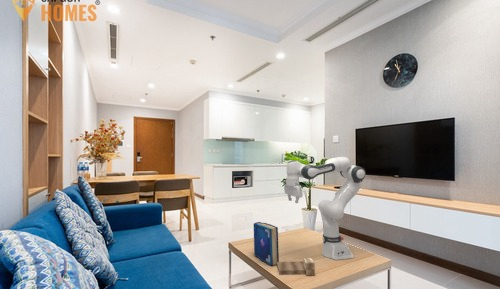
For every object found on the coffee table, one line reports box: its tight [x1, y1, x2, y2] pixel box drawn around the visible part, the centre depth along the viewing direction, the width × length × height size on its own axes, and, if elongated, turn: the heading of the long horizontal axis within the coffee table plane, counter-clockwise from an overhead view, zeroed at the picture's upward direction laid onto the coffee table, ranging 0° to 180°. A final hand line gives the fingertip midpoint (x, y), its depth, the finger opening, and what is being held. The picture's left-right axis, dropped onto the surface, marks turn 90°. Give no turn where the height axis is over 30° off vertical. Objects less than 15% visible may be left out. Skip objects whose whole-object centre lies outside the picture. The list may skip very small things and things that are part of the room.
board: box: [276, 260, 306, 276], centre depth 151 cm, size 22×12×2 cm, turn 91°
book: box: [253, 221, 280, 267], centre depth 166 cm, size 22×7×25 cm, turn 35°
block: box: [302, 257, 316, 276], centre depth 147 cm, size 5×8×7 cm, turn 1°
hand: (293, 201), depth 169 cm, fingers open, 8 cm apart
